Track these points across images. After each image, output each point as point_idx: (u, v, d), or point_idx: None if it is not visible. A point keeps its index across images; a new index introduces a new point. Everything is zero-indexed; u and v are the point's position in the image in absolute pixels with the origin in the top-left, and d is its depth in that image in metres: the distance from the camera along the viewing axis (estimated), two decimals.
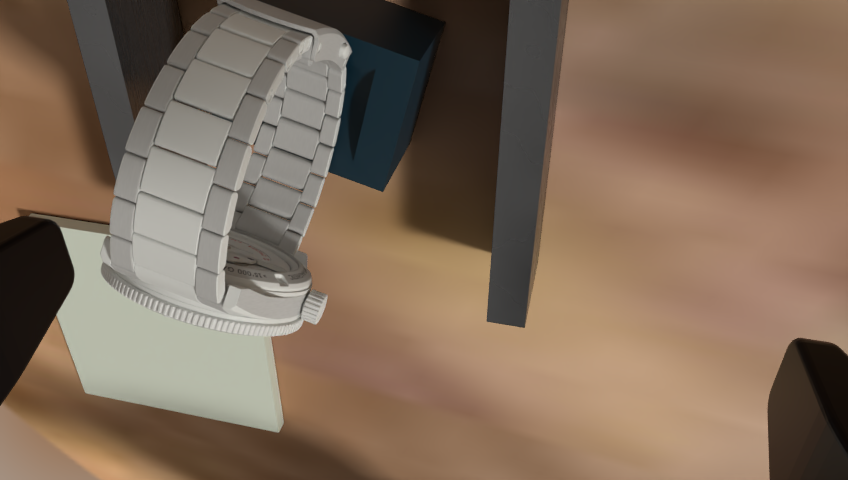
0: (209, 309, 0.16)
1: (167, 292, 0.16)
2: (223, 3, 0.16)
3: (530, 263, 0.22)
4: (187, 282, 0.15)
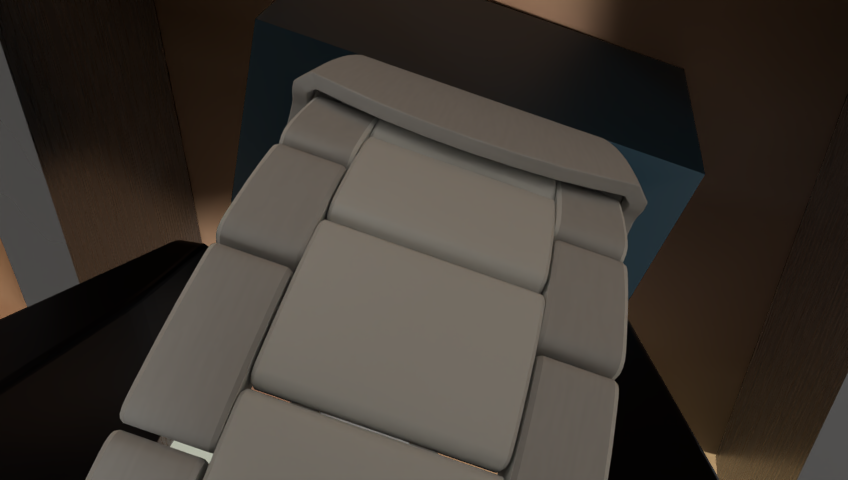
0: None
1: None
2: (311, 90, 0.05)
3: None
4: None
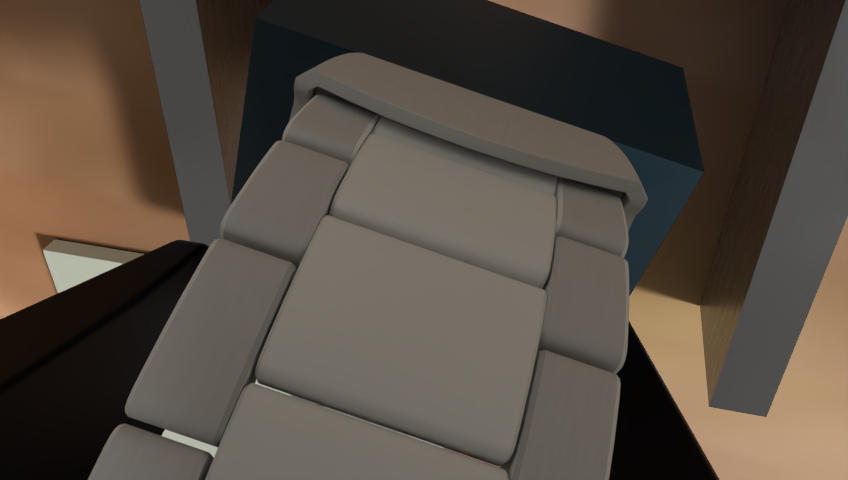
0: None
1: None
2: (315, 89, 0.05)
3: (798, 331, 0.15)
4: None
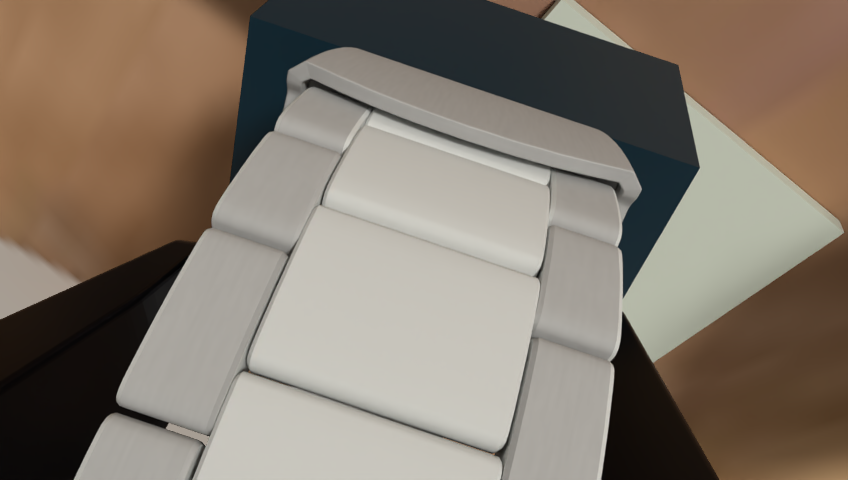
0: None
1: None
2: (307, 81, 0.05)
3: None
4: None
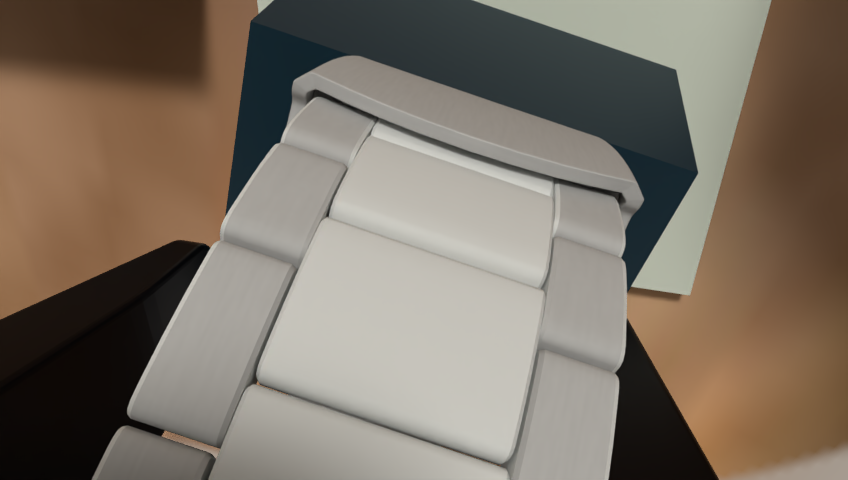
0: None
1: None
2: (310, 91, 0.05)
3: None
4: None
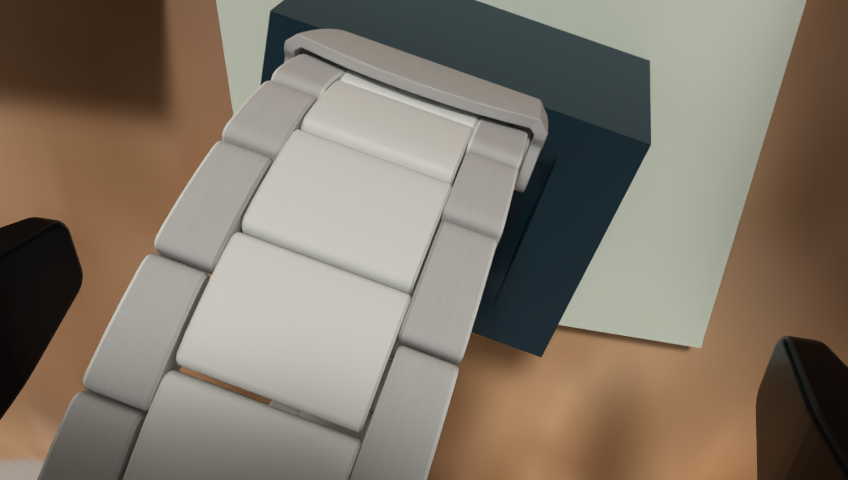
0: None
1: None
2: (300, 50, 0.06)
3: None
4: None
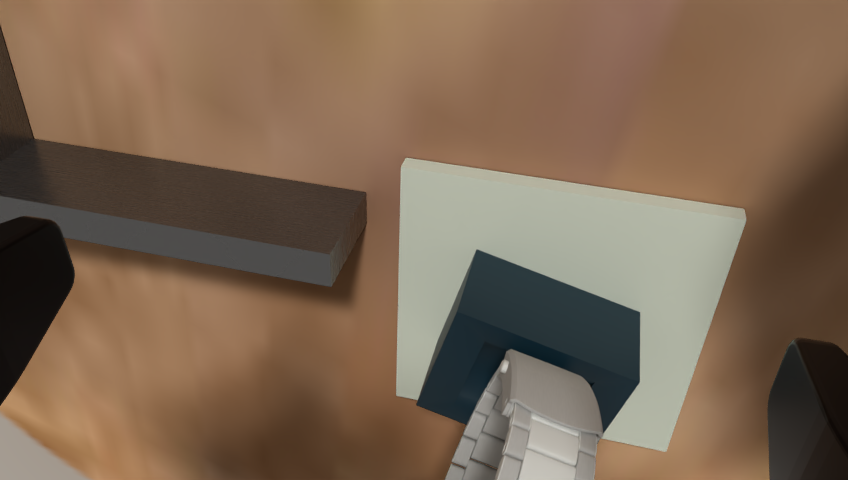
0: None
1: None
2: (513, 400, 0.17)
3: None
4: None
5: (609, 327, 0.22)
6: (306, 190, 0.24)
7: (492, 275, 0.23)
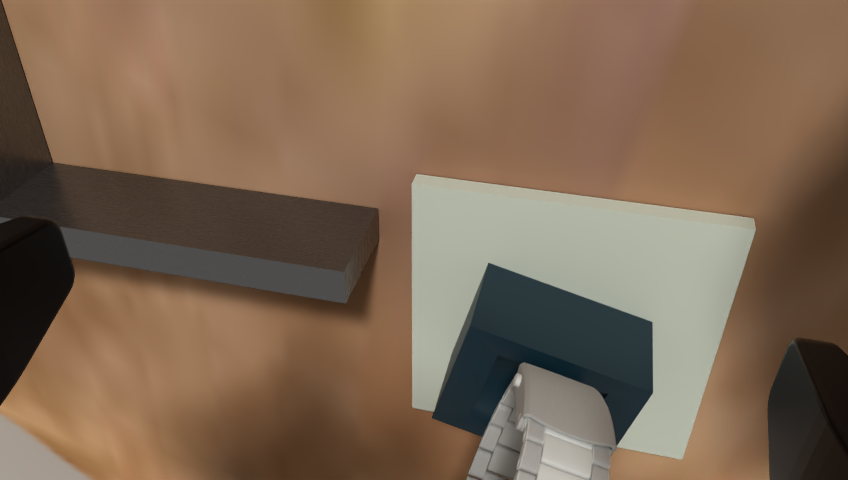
0: None
1: None
2: (526, 414, 0.17)
3: None
4: None
5: (621, 338, 0.23)
6: (319, 208, 0.24)
7: (504, 288, 0.23)
